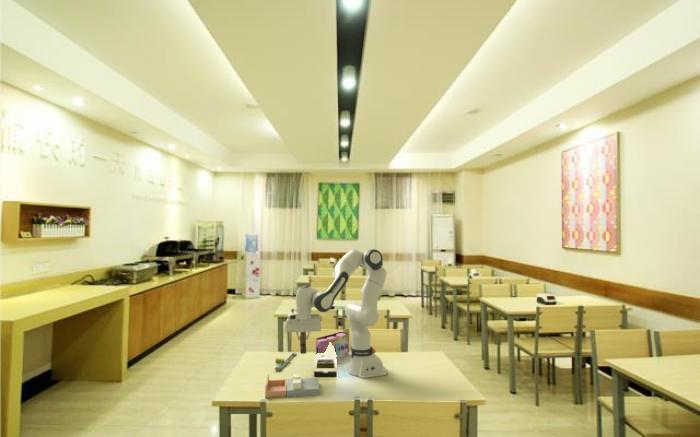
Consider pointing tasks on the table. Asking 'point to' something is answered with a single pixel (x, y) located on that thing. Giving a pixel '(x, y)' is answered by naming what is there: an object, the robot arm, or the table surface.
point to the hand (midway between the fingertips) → (303, 339)
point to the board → (303, 387)
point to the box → (275, 388)
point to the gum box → (334, 343)
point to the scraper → (303, 342)
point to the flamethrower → (283, 362)
